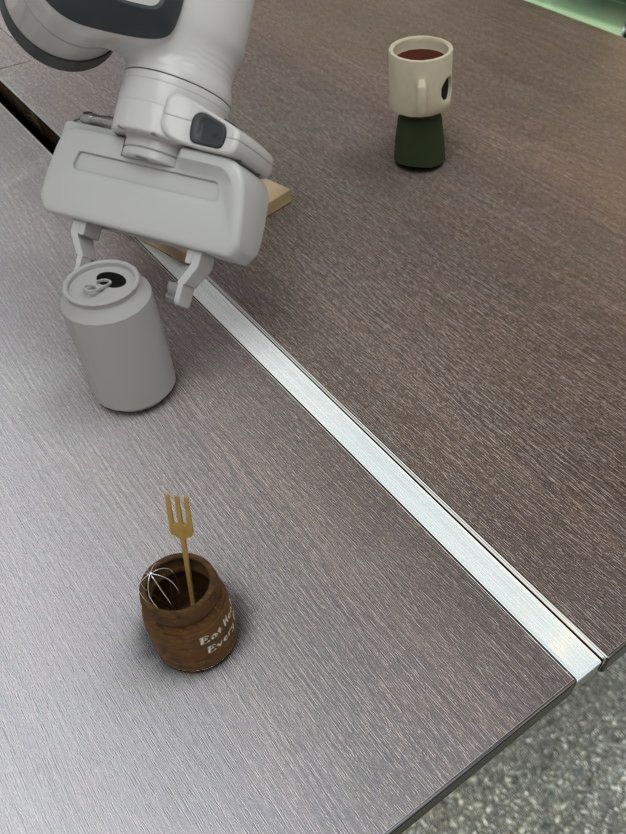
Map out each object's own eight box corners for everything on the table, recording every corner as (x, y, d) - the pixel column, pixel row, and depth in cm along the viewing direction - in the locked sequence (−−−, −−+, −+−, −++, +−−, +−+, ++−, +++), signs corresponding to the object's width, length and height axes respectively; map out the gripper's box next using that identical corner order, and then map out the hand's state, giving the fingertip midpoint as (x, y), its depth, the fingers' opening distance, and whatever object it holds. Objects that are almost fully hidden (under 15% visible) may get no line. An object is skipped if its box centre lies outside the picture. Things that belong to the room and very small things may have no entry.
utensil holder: (144, 671, 58) (95, 571, 49) (172, 595, 62) (131, 489, 53) (227, 681, 58) (192, 582, 48) (249, 604, 62) (222, 499, 52)
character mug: (451, 183, 98) (456, 68, 88) (390, 185, 99) (388, 70, 89) (446, 138, 105) (450, 26, 95) (389, 139, 106) (388, 28, 96)
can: (194, 381, 78) (166, 270, 68) (137, 429, 74) (98, 319, 64) (136, 352, 80) (101, 242, 71) (78, 398, 76) (32, 288, 67)
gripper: (44, 92, 70) (8, 256, 72) (256, 135, 64) (211, 314, 66) (93, 121, 76) (58, 272, 78) (291, 163, 70) (248, 326, 72)
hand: (130, 292), depth 72 cm, fingers open, 8 cm apart
